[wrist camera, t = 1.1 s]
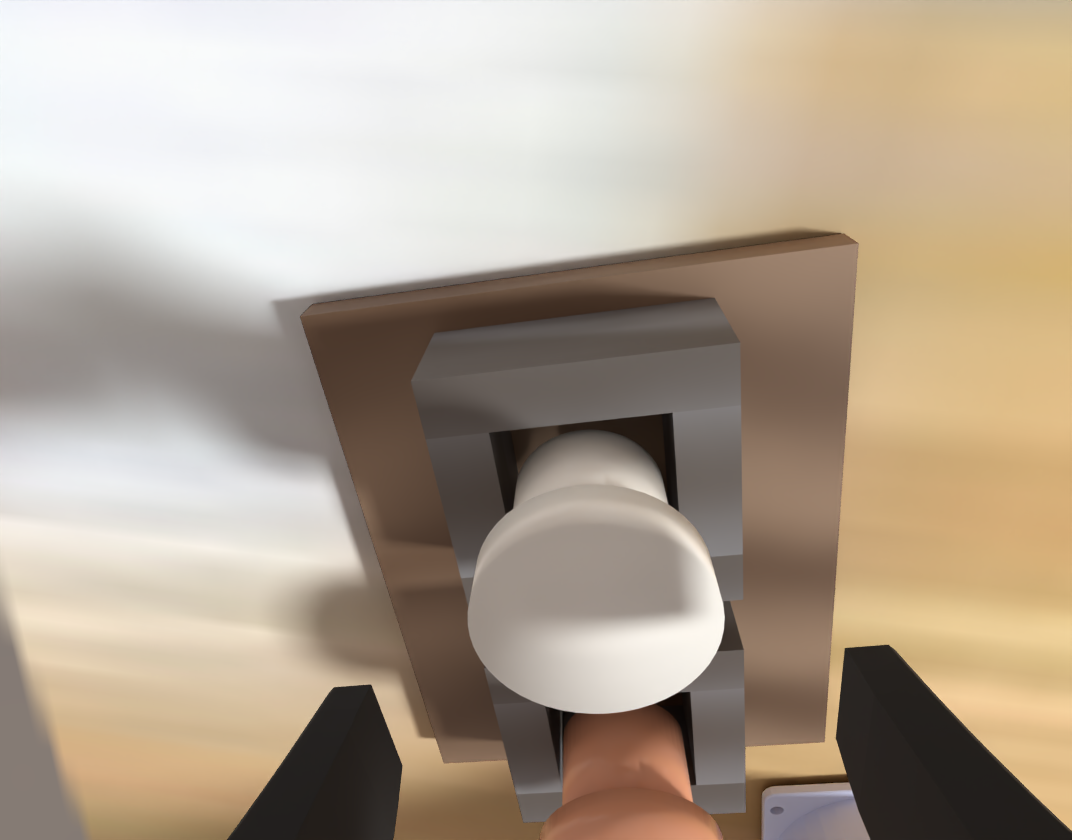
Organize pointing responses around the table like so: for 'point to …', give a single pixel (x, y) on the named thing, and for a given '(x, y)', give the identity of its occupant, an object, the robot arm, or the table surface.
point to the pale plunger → (594, 582)
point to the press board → (638, 414)
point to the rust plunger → (627, 781)
